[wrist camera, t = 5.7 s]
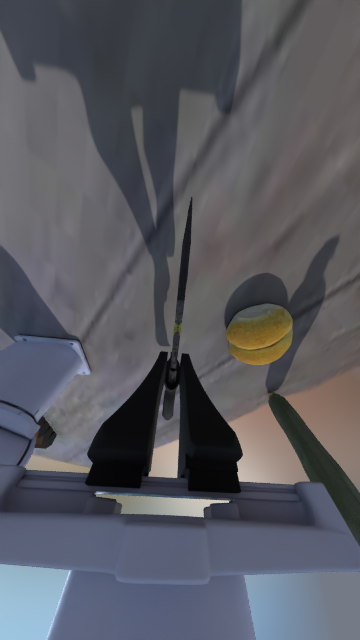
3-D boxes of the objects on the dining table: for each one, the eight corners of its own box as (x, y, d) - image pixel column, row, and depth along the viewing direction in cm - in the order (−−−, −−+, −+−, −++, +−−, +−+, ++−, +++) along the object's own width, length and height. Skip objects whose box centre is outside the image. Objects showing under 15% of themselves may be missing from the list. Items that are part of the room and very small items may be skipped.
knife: (177, 212, 10) (175, 181, 5) (198, 215, 10) (213, 186, 5) (164, 397, 21) (159, 437, 16) (173, 398, 21) (171, 437, 16)
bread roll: (231, 358, 22) (239, 379, 18) (220, 314, 18) (229, 331, 14) (284, 345, 20) (305, 366, 17) (286, 293, 16) (315, 308, 13)
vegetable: (259, 388, 26) (406, 668, 9) (282, 381, 25) (506, 693, 8) (265, 398, 28) (398, 648, 11) (287, 392, 27) (477, 665, 9)
